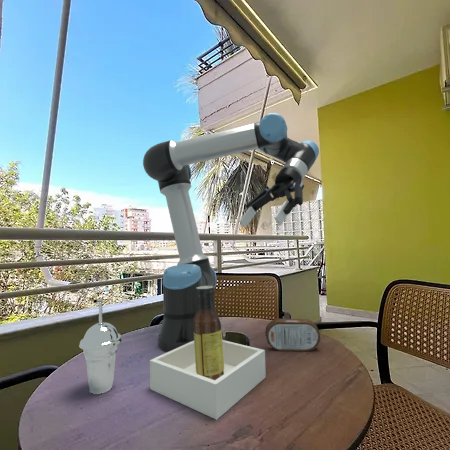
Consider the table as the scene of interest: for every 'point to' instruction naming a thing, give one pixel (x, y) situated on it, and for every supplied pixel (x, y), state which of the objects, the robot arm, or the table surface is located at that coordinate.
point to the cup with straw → (100, 354)
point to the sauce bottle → (208, 336)
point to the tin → (292, 335)
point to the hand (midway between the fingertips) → (258, 223)
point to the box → (202, 386)
